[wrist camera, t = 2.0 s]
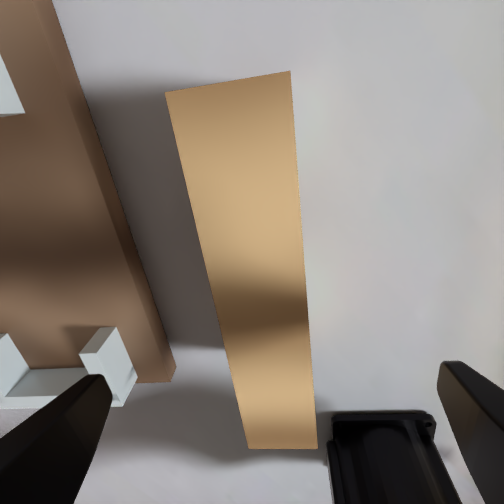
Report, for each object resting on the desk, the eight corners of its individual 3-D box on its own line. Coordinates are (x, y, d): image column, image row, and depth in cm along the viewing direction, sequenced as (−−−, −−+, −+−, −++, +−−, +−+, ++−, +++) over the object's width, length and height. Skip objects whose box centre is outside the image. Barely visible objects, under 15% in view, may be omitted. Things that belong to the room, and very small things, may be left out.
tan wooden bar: (214, 98, 12) (164, 92, 7) (285, 86, 12) (290, 71, 7) (257, 349, 18) (248, 448, 13) (306, 347, 18) (317, 449, 13)
